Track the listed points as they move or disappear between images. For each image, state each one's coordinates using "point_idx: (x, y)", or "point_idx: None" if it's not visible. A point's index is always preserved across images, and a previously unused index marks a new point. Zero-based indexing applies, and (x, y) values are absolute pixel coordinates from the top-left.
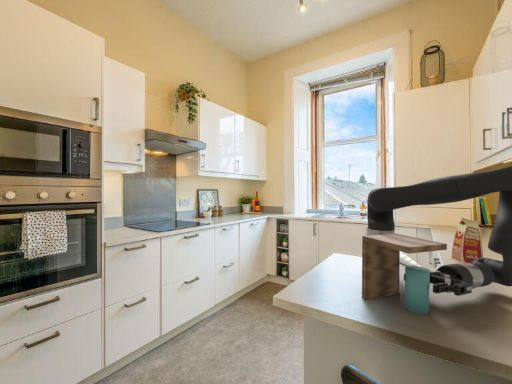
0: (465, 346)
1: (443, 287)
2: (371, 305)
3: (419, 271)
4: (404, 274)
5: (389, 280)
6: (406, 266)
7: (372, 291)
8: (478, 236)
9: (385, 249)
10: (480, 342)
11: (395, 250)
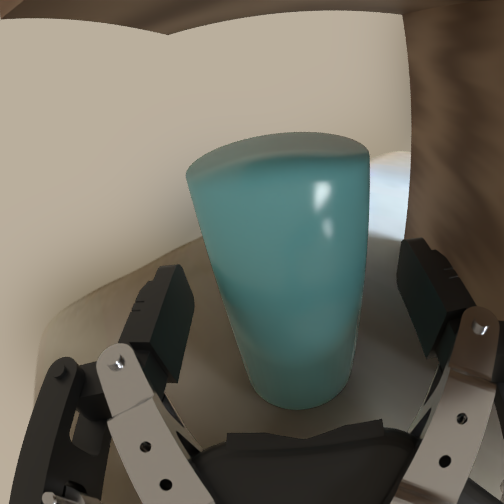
0: (98, 307)
1: (134, 311)
2: None
3: (221, 149)
4: (417, 239)
5: (474, 274)
6: (342, 138)
7: None
8: None
9: (481, 61)
10: (76, 351)
11: None
